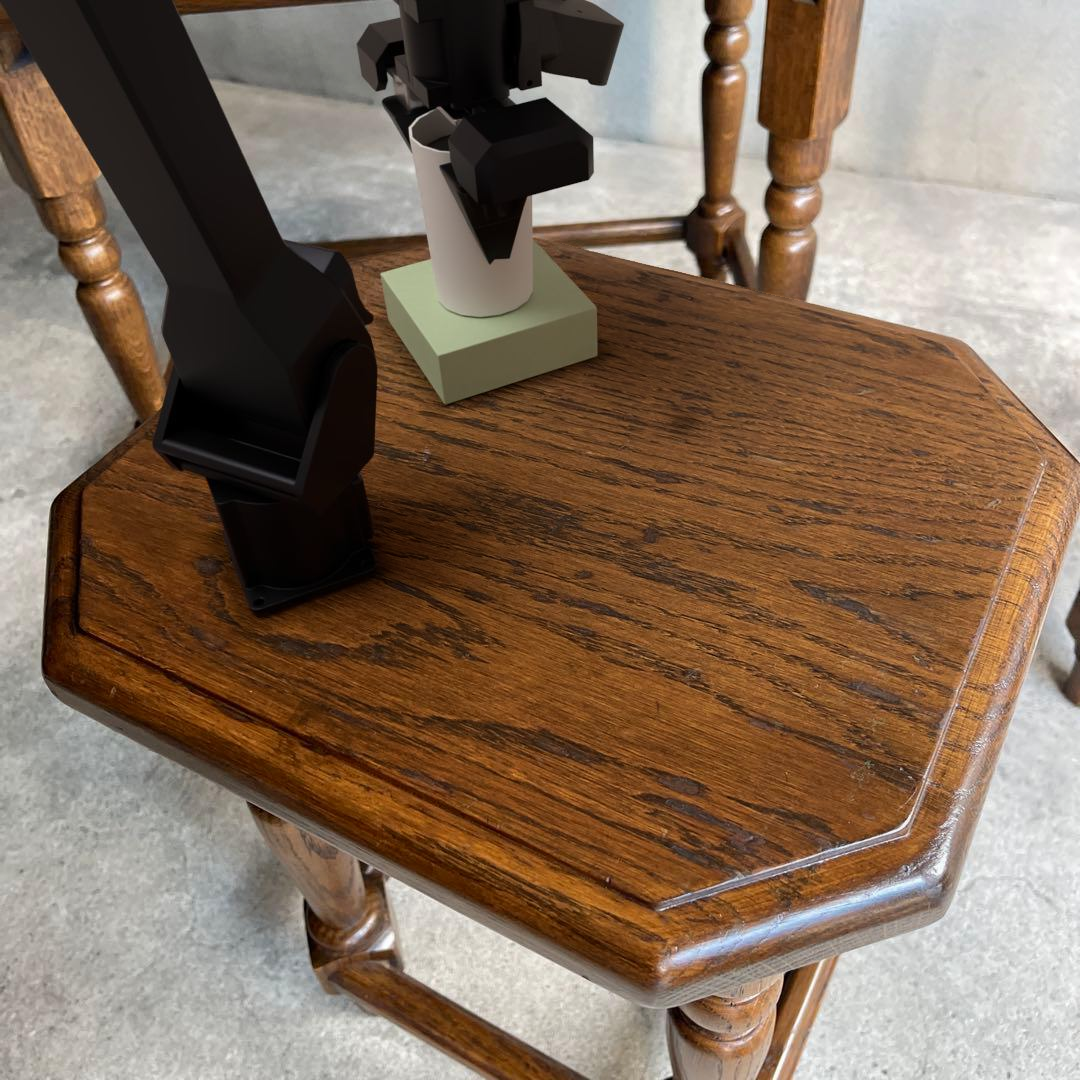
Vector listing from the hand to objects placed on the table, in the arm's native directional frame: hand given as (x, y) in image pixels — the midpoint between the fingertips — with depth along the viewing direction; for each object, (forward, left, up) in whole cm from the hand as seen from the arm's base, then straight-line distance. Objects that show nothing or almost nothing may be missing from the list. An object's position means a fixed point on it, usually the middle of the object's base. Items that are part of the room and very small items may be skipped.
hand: (480, 244), depth 64 cm
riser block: (0, 0, -7) cm, 7 cm away
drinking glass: (0, 0, -3) cm, 3 cm away
